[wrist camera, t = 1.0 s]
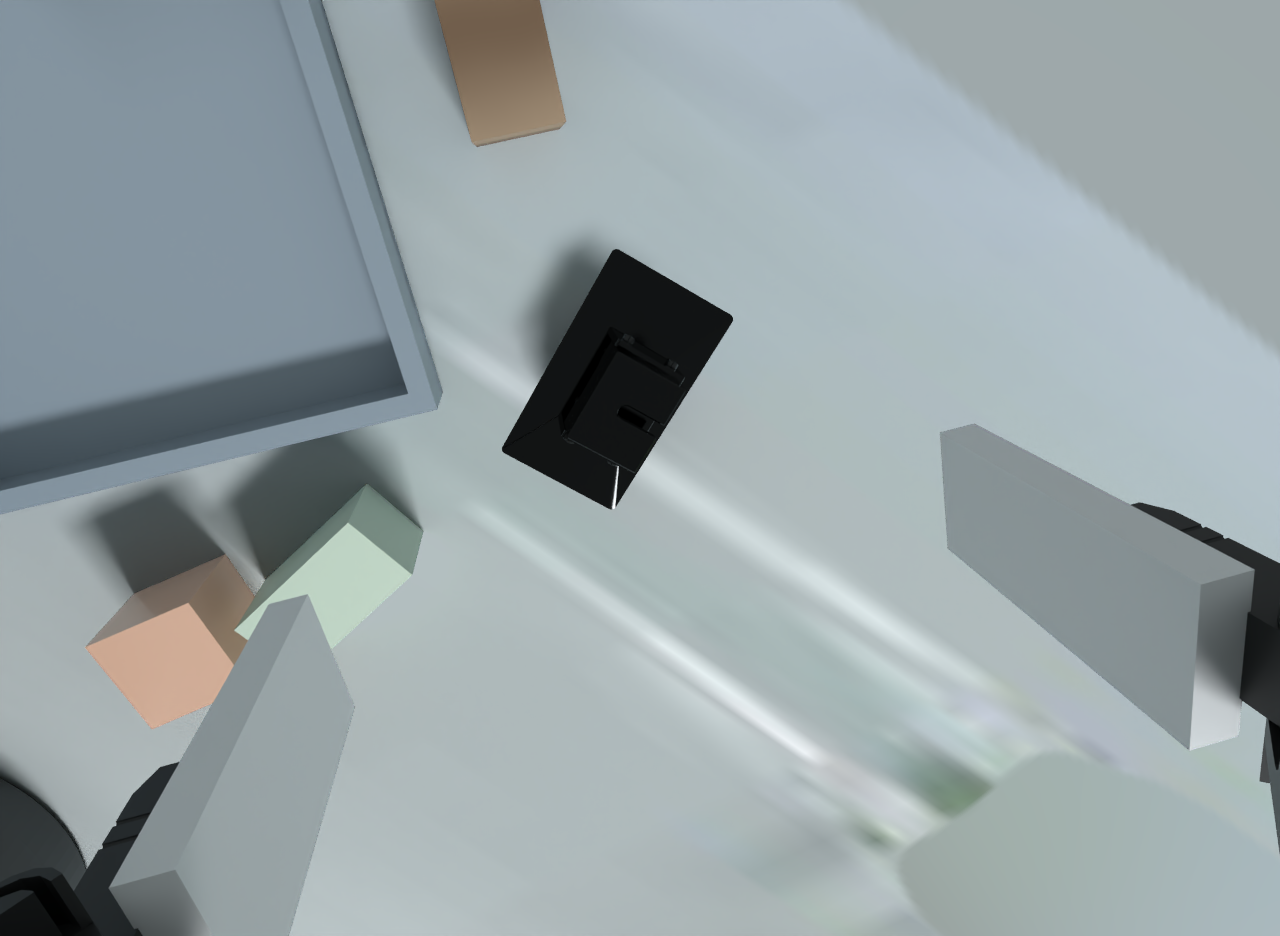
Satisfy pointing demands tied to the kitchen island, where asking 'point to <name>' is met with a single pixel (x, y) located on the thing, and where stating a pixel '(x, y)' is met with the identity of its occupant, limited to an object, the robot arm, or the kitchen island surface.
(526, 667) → the kitchen island surface
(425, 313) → the kitchen island surface
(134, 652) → the cube terracotta
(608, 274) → the build plate
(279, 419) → the tray
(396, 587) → the brick sage
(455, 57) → the brick walnut
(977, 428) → the robot arm
